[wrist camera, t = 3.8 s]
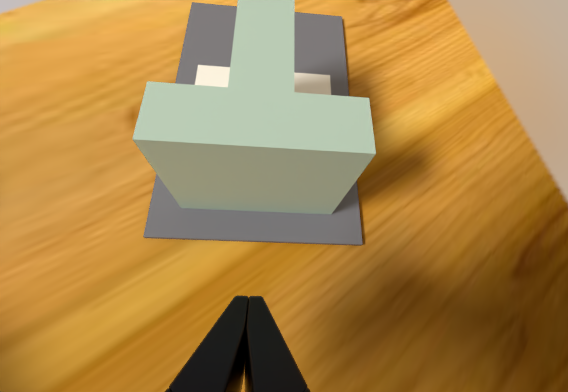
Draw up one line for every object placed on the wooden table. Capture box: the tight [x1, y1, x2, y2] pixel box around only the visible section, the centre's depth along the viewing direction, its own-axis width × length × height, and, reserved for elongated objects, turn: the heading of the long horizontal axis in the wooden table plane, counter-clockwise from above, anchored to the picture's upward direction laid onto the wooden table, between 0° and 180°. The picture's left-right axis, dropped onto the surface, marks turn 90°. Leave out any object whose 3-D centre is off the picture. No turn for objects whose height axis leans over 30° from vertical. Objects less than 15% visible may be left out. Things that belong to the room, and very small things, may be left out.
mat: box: [143, 2, 363, 245], centre depth 23 cm, size 22×14×1 cm, turn 179°
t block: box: [133, 0, 376, 214], centre depth 17 cm, size 10×10×8 cm
